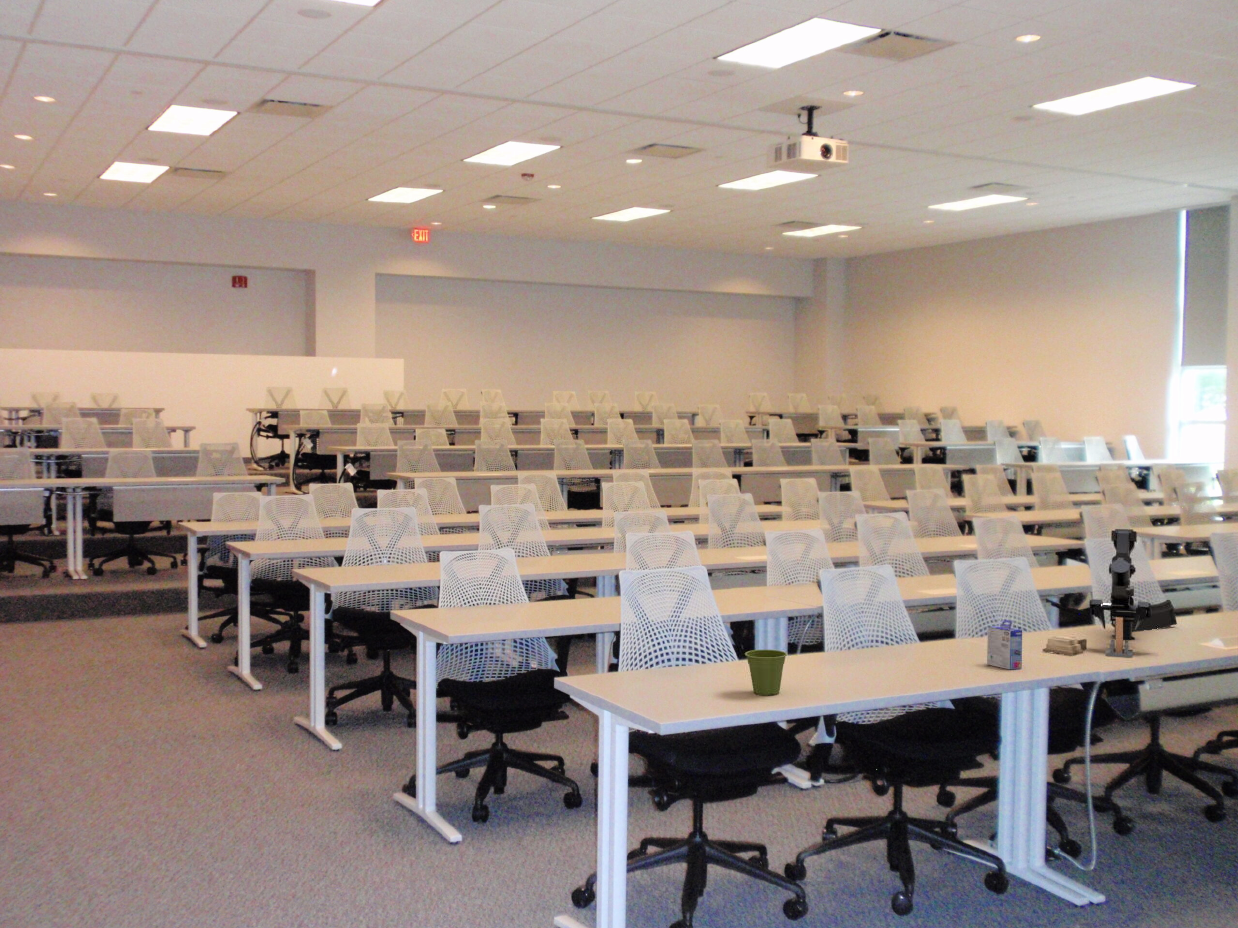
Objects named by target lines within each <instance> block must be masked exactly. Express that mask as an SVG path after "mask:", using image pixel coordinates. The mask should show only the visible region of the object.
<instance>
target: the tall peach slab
mask: <svg viewBox="0 0 1238 928" xmlns="http://www.w3.org/2000/svg"><path fill="white" fill-rule="evenodd" d="M1115 648H1116V652H1119V653H1122V652H1123V649H1124V639H1123V617H1116V639H1115Z"/></svg>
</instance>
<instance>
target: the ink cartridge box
mask: <svg viewBox="0 0 1238 928" xmlns="http://www.w3.org/2000/svg"><path fill="white" fill-rule="evenodd" d="M1005 623H1008V624H1005ZM1012 624H1013V620H1009V619H1003V621H1002V622H1001V625H995V626H994V625H992V626H991V625H990V626H987V646H986V648H987V649H986V650H987V651H986V665H987V664H988V665H987V666H992V667H996V668H997V667H998V668H1001V669H1006V670H1021V668H1022V667H1023V665H1022V664H1023V663H1022V661H1023V630H1022V629H1021V628H1020V629H1019V628H1013V627H1012Z"/></svg>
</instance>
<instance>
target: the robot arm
mask: <svg viewBox="0 0 1238 928" xmlns="http://www.w3.org/2000/svg"><path fill="white" fill-rule="evenodd" d="M1110 533H1111V535H1110V536H1111V537H1110V541H1111V542H1112V543H1113V548H1114V550H1115V551H1116V552H1115V555H1114V556H1113V557H1112V558H1111V563H1109V566H1108V573H1109V574H1110V575H1111V576H1110V577H1111V591H1110V603H1104V602H1103V599H1095V598H1091V599H1090V600H1089V604H1088V605H1089V614H1090V615H1091V616H1094V617H1095V618H1098V620H1099V622H1100V623H1101V625H1102V628H1103V629H1104V630H1106V618H1105V611H1110V613H1109V615H1110V621H1111V622H1112V621H1115V628H1114V634H1111V637H1113V638H1114V640H1116V618H1115V617H1124V618H1123V640H1135V639H1136V638H1135V637H1134V636H1133V632H1136V631H1135V630H1136V628H1137V627H1138V625H1139V624H1140V622H1141V621H1142V620H1146V618H1151V605H1152V604H1151V602H1149V601H1137V605H1136V604H1135V600H1134V598H1133V597H1135V585H1131V580H1130V579H1131V578H1132V576H1134V575H1135V573H1136V572H1137V571H1136V570H1137V569H1136V567H1135V565H1134V564H1132V563H1133V562H1132V557H1131V554H1132V552H1133V551H1134V550H1135V544H1136V543H1137V542H1138V532H1137V531H1135V530H1134V529H1130V528H1129V529H1127V528H1126V529H1124V528H1115V529H1114V530H1111V532H1110ZM1113 616H1114V617H1113ZM1132 617H1134V619H1132ZM1132 622H1134V631H1132Z"/></svg>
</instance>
